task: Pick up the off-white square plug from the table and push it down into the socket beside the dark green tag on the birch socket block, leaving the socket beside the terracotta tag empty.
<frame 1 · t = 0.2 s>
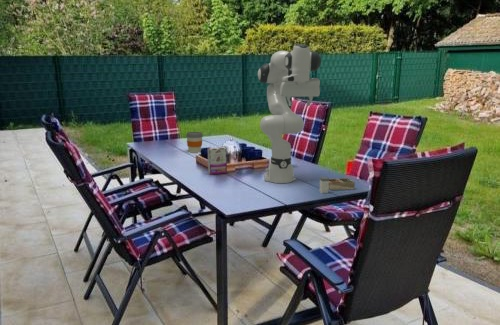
hand: (299, 105, 220), 47 cm above the table, tool pointing down, fingers open, 8 cm apart
candy bar box: (217, 173, 275), on the table
plug: (323, 192, 237), on the table
plastic cup: (284, 166, 296), on the table
reusable coffee cup: (194, 152, 340), on the table
socket block: (339, 187, 246), on the table
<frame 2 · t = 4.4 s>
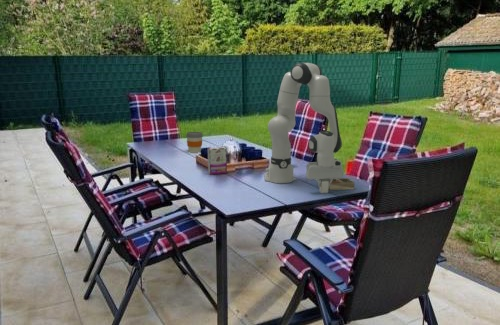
hand: (323, 186, 237), 3 cm above the table, tool pointing down, fingers closed on plug, 4 cm apart
plug: (323, 192, 237), on the table, touching gripper
everything else where it was.
when the fingers open (4 cm above the table, at t = 10.4 s): plug drops 1 cm, resting in socket block.
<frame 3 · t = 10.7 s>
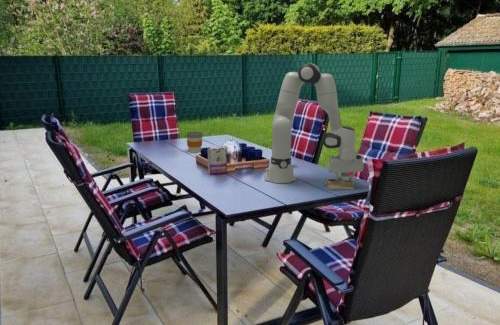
hand: (344, 179, 247), 4 cm above the table, tool pointing down, fingers open, 6 cm apart
plug: (344, 186, 248), resting in socket block
everything else where it was.
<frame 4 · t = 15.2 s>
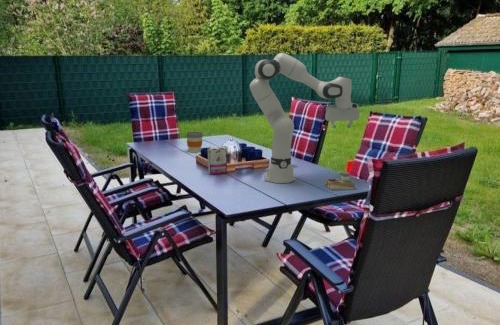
hand: (341, 128, 258), 31 cm above the table, tool pointing down, fingers open, 8 cm apart
nothing on the table moved.
at the end: plug 0.1 cm from the target spot on the socket block, point 0.0 cm above the socket block's base; plug tilted 0°; the gripper is holding nothing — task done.
